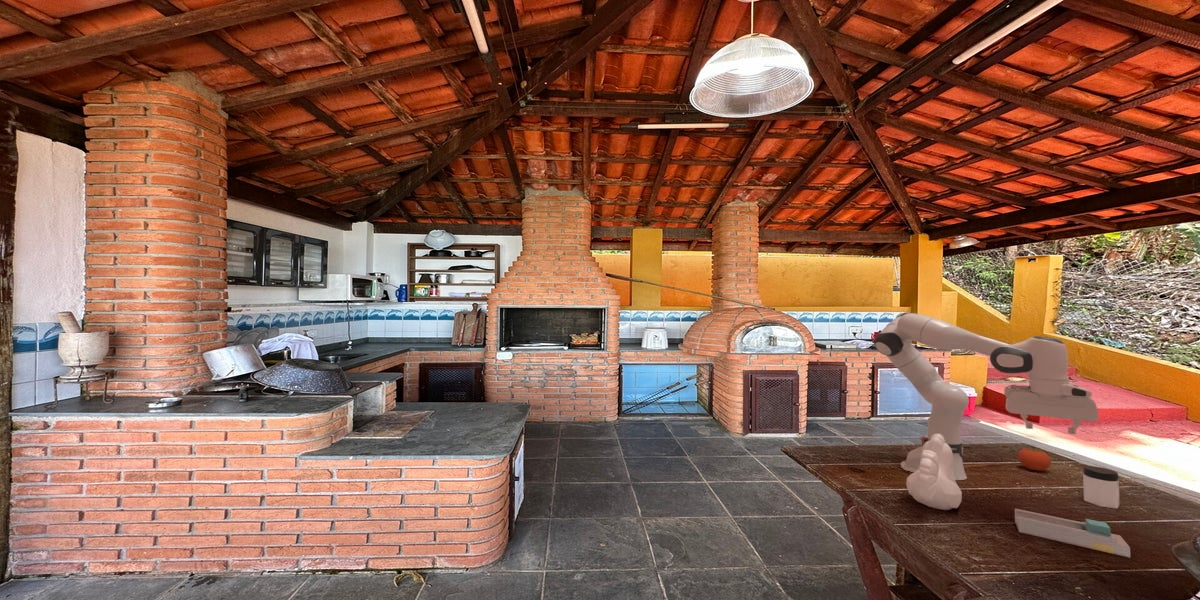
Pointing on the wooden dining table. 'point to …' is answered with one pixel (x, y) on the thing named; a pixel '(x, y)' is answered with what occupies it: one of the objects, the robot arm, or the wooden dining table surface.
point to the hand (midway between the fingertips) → (1050, 431)
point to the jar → (1101, 486)
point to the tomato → (1034, 459)
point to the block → (1098, 527)
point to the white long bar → (1069, 532)
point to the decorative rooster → (935, 476)
